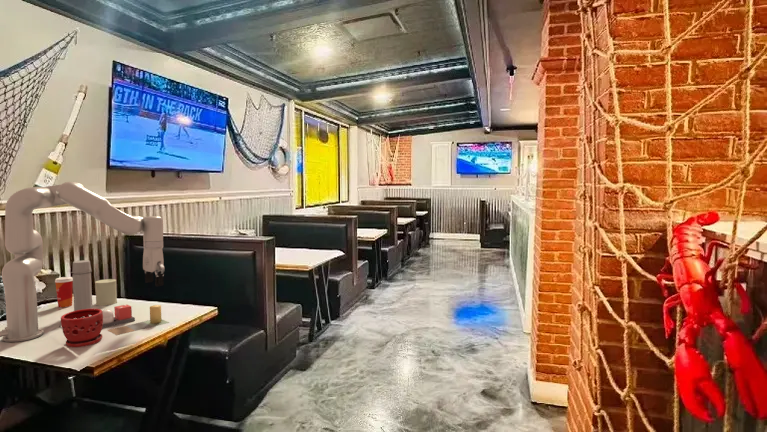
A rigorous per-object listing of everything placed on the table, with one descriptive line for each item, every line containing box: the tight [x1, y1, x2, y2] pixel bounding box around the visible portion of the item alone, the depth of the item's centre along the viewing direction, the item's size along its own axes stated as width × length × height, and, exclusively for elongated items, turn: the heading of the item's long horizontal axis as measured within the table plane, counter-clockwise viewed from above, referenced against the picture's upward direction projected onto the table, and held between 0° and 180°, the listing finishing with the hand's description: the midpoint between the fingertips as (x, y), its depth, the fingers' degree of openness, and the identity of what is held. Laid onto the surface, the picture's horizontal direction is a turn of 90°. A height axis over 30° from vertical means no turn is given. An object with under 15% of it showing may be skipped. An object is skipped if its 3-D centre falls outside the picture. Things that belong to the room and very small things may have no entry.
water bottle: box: [70, 259, 93, 311], centre depth 204 cm, size 9×8×25 cm
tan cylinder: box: [149, 304, 163, 324], centre depth 192 cm, size 4×4×7 cm
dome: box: [102, 308, 115, 324], centre depth 188 cm, size 6×6×7 cm
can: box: [94, 278, 118, 307], centre depth 224 cm, size 9×9×12 cm
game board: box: [107, 319, 170, 336], centre depth 186 cm, size 21×10×1 cm, turn 141°
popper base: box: [96, 304, 136, 329], centre depth 190 cm, size 14×8×7 cm, turn 141°
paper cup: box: [54, 276, 74, 308], centre depth 218 cm, size 8×8×14 cm
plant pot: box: [60, 308, 103, 348], centre depth 167 cm, size 13×13×12 cm
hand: (154, 284), depth 191 cm, fingers open, 9 cm apart
